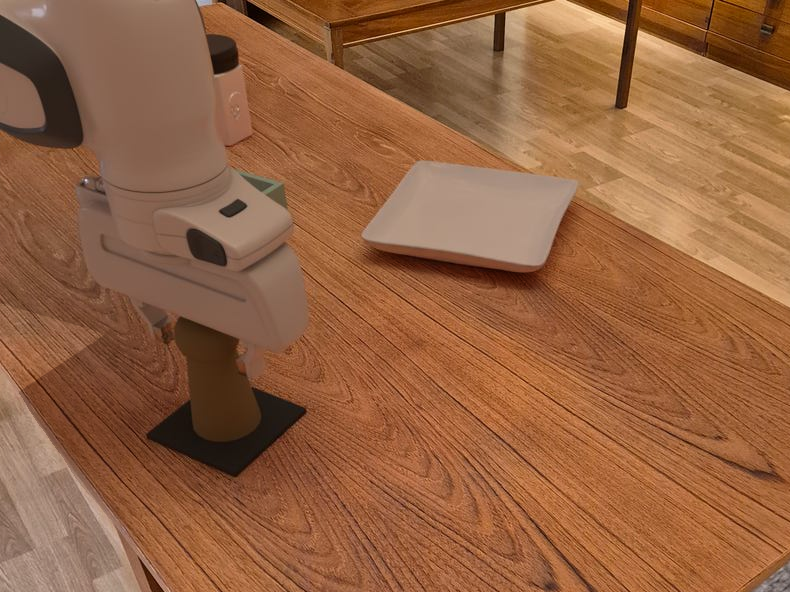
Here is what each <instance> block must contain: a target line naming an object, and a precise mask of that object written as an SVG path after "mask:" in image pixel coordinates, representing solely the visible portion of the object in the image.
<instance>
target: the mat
mask: <svg viewBox="0 0 790 592" xmlns="http://www.w3.org/2000/svg"><path fill="white" fill-rule="evenodd" d="M251 388H252V391H253V393H254V396H255V399H256V401H257V404H258V407H259V409H260V413H261V420H260V424H259V425H258V426H257V427H256V429H255V430H254V431H252V432H251V433H250V434H248V435H247V436H244V437H242V438H240V439H237V440H232V441H227V442H214V441H210V440H206V439H204V438H202V437H200V436H199V435H197V433H196V432H195V431H194V429H193V422H192V412H191V401H190V399H188V400H187V401H186V402H184V403H183V404H182V405H181V406H179V407H178V408H177V409H176V410H174V411H173V412H172V413H170V414H169V415H168V416H167V417H165V419H163V420H162V421H160V422H159V423H158V424H156V426H154V427H153V428H152V429H150V430H148V432H147V433H146V434H145V436H146V439H148V440H150V441H153V442H155V443H157V444H159V445H162V446H164V447H166V448H168V449H171V450H173V451H175V452H177V453H180V454H181V455H184V456H186V457H189V458H191V459H193V460H194V461H195V460H196V461H198V462H200V463H201V464H205V465H206V466H209V467H210V468H214V469H215V470H218V471H220V472H222V473H224V474H227V475H229V476H232V477H233V478H236V477H237V476H238V475H240V474H241V473H242V472H243V471H245V469H246V468H248V467H249V466H250V464H252V463H253V462H254V461H255V460H256V459H257V458H258V457H260V455H261V454H262V453H264V452H265V451H266V450H267V449H268V448H269V447H271V445H272V444H273V443H274V442H276V441H277V440H278V439H279V438H280V437H281V436H282V435H283V434H284V433H286V431H288V430H289V429H290V428H292V426H293V425H294V424H295V423H297V422H298V421H299V420H300V419H301V418H302V417H303V416H304V415H305V414H307V408H306V407H305V406H302V405H299V404H297V403H294V402H292V401H290V400H287V399H284V398H282V397H279V396H276V395H274V394H271V393H269V392H266V391H265V390H261V389H258V388H256V387H254V386H251Z"/></svg>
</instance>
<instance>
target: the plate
mask: <svg viewBox="0 0 790 592" xmlns="http://www.w3.org/2000/svg"><path fill="white" fill-rule="evenodd" d="M579 185H580V182H579V180H577V179H573V178H566V177H559V176H552V175H544V174H537V173H529V172H522V171H513V170H507V169H497V168H490V167H481V166H475V165H474V166H473V165H466V164H459V163H458V164H457V163H449V162H442V161H434V160H422V159H421V160H418V161H415V163H414V164H413V165H412V166H411V167H410V169H409V170H408V171H407V172H406V174H405V175H404V177H402V179H401V180H400V182H399V183H398V185H397V186H396V187H395V189H394V190H393V192H392V193H391V194H390V195H389V196H388V198H387V199H386V200H385V202H384V203H383V205H382V206H381V208H380V209H379V210H378V211H377V212H376V214H375V215H374V216H373V218H372V219H371V220H370V221H369V223H368V224H367V225H366V227H365V228H364V229H363V231H362V232H361V234H360V238H361V240H363V242H364V243H365V244H367V245H369V246H370V247H372V248H374V249H376V250H380V251H382V252H387V253H391V254H398V255H402V256H403V255H404V256H410V257H415V258H420V259H425V260H432V261H437V262H438V261H439V262H445V263H449V264H454V265H455V264H456V265H462V266H470V267H476V268H477V267H478V268H484V269H492V270H500V271H501V270H502V271H506V272H513V273H532V272H535V271H536V272H537V271H538V270H540V269H542V268H543V267H544V265H545V264H546V262H547V260H548V257H549V255H550V253H551V250H552V247H553V243H554V241H555V237H556V234H557V233H558V229H559V227H560V224H561V222H562V220H563V218H564V216H565V214H566V212H567V209H568V208H569V206H570V204H571V202H572V200H573V198H574V197H575V195H576V193H577V191H578V189H579Z"/></svg>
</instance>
